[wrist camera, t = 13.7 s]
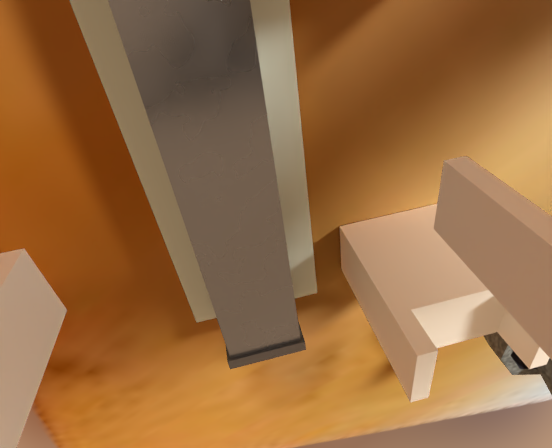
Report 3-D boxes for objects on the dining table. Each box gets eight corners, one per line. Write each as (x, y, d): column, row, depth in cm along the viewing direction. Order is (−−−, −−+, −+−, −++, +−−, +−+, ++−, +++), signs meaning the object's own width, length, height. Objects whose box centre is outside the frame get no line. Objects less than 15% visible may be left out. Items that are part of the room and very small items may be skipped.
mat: (-9, -213, 12) (-20, -223, 11) (261, -244, 13) (264, -255, 12) (196, 314, 27) (196, 322, 27) (314, 285, 28) (317, 292, 27)
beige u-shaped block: (339, 226, 25) (417, 356, 17) (444, 201, 26) (571, 314, 17) (341, 269, 28) (410, 402, 19) (437, 245, 28) (546, 364, 20)
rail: (48, -230, 12) (-13, -317, 8) (202, -248, 12) (209, -339, 8) (224, 316, 27) (230, 369, 23) (290, 299, 27) (305, 349, 24)
